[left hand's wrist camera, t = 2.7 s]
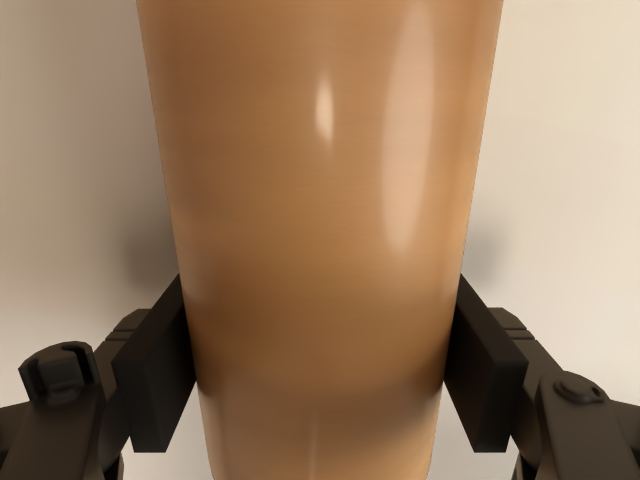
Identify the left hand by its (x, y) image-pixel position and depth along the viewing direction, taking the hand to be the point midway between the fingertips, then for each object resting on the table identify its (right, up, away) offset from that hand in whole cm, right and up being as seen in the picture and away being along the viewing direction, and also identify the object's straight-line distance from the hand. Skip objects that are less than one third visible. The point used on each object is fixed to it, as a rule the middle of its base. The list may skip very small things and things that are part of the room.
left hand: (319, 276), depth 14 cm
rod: (0, +8, -3) cm, 9 cm away
